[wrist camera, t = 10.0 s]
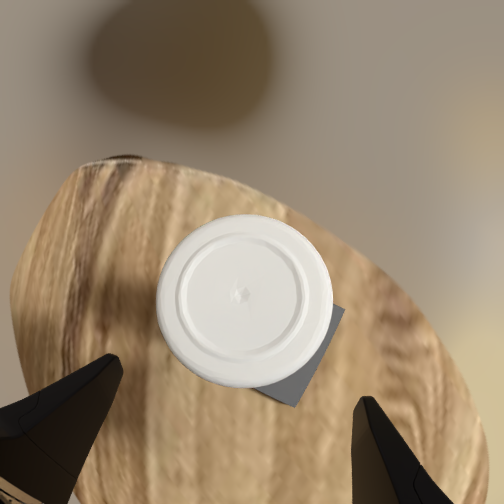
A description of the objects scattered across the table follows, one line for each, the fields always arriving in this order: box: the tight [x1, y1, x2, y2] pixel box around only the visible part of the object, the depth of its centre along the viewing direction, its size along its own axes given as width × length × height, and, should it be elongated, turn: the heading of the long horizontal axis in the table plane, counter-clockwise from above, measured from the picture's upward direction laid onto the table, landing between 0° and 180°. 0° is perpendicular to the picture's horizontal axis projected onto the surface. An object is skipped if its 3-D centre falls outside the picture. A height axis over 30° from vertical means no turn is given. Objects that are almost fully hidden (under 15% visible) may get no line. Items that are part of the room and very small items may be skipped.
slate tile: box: [254, 304, 345, 408], centre depth 20 cm, size 8×10×1 cm
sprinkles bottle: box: [156, 214, 333, 388], centre depth 13 cm, size 5×5×14 cm
